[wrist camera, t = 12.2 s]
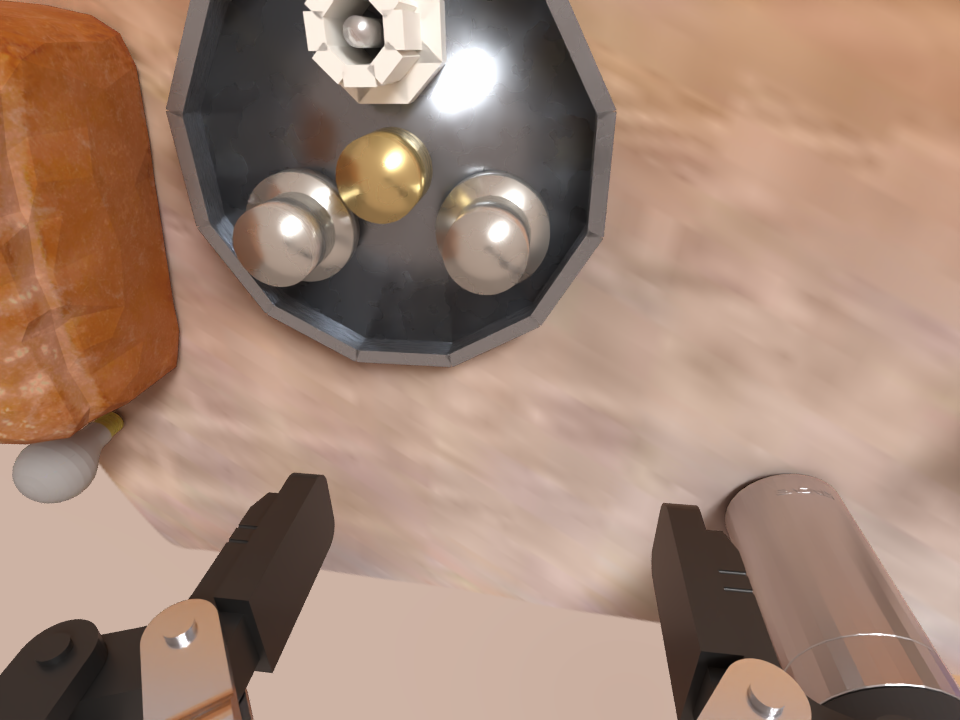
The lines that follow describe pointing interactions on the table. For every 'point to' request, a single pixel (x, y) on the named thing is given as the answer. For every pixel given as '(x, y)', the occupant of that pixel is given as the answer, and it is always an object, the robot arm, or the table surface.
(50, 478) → the light bulb
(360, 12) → the white faceted ring
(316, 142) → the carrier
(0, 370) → the bread
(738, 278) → the table surface
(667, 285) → the table surface
